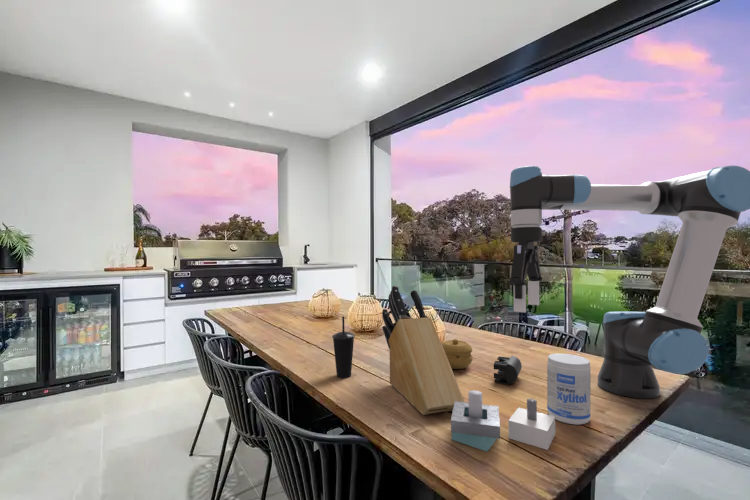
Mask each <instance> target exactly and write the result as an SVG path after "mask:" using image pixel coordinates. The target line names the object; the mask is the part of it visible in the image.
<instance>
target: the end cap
mask: <svg viewBox="0 0 750 500" xmlns="http://www.w3.org/2000/svg"><path fill="white" fill-rule="evenodd" d="M493 370H497V372H493V381H494V383H496V384H499V385H507V386H509V385H512V384H513V383H515V381H517V379H518V377H519V375H520V373H521V370H522V362H521V360H520V359H519V358H518V357H517V356H515V355H511V356H510V357H509V356H508V357H506V356H498V357H497V359H496V360H494V363H493Z"/></svg>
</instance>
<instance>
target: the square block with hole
mask: <svg viewBox="0 0 750 500" xmlns="http://www.w3.org/2000/svg"><path fill="white" fill-rule="evenodd" d="M499 409H500V408H499V405H491V404H483V403H482V414H483V419H479V418H471V417H469V403H468V402H465V401H464V402H457V401H455V403H454V407H453V411H451V412H452V413H451V416H450V417H451V419H450V432H451V433H452V432H455V433H462V434H470V435H477V436H484V437H491V438H497V440H498V439H501V421H500V410H499Z"/></svg>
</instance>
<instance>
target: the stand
mask: <svg viewBox="0 0 750 500" xmlns="http://www.w3.org/2000/svg"><path fill="white" fill-rule="evenodd" d="M537 403H538V401H537V400H536V399H534V398H527V399H526V408H522V407H518V408H517V409H516V410H515V412H514V413H512V415H511V416H510V418H509V419H508V422H507V423H508V424H507V425H508V439H511V440H514V441H516V442H520V443H523V444H527V445H530V446H533V447H536V448H540V449H543V450H546V451H548V450H549V448H550V446H551V445H552V442H553V440H554V438H555V436H556V419H555V416H551V415H549V414H547V413H542V412H538V406H537V405H538V404H537Z"/></svg>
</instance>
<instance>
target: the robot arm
mask: <svg viewBox="0 0 750 500" xmlns="http://www.w3.org/2000/svg"><path fill="white" fill-rule="evenodd" d="M509 192H510V193H509V194H510V214H509V215H508V219H509V220H510V226H511V227H512V228H511V229H510V241H511V242H512V243H518V244H517V245H516V244H515V245H513V259H512V265H511V274H510V279H509V280H510V281H509V286H513V288H512V289H513V290H512V291H513V312H516V313H524V314H526V313H527V305H532V306H540V282H542V281H543V277H542V275H541V267H540V259H539V251H538V250H539V249H538V248H539V247H538V244H537V245H535V243H537V242H539V243H541V242H542V241H543V229H542V227H541V225H543V211H546V210H551V211H554V210H559V211H560V210H562V211H563V210H565V211H567V210H570V211H572V210H573V211H577V210H579V211H619V212H621V211H624V212H625V211H629V212H630V211H633V212H638V213H640V214H642V215H653V216H657V215H658V216H667V217H668V216H669V217H678V218H679V220H681V222H682V223H681V224H682V225H681V227H680V231H679V233H678V235H677V240H676V242H675V246H674V249H673V252H672V255H671V258H670V261H669V263H668V265H667V266H668V267H667V269H666V273H665V276H664V279H663V282H662V285H661V287H660V291H659V295H658V298H657V300H656V302H655V306H653V307H652V308H649V309H646V310H645V311H621V310H620V311H607V312H606V313H604V315H603V321H602V326H603V361H602V363H601V364H602V365H601V366H600V369H599V372H598V374H597V385H598V386H599V387H600V388H601V389H602V390H604V391H606V392H609V393H612V394H615V395H619V396H623V397H629V398H632V399H633V398H634V399H645V400H646V399H655V398H658V397H660V396H661V390H660V389H661V387H660V383H659V381H658V379H657V377H656V376H657V375H656V374H655V371H654V369H653V367H654V368H656V369H658V370H660V371H664V372H668V373H671V374H676V375H687V374H690V373H691V372H694V371H696V370H698V369H700V368H701V367H702V366H703V365H704V364H705V363H706V360H707V358H708V357H709V350H710V348H709V345H708V344H707V340H706V338H705V337H704V336H703V335H702V332H703V325H702V323H701V321H700V320H699V319H698V316H699V313H700V312H701V311H700V310H701V308H702V305H703V301H704V298H705V295H706V292H707V290H708V286H709V283H710V280H711V278H712V274H713V271H714V268H715V264H716V262H717V259H718V256H719V254H720V253H719V252H720V250H721V247H722V244H723V241H724V238H725V235H726V232H727V230H728V229H729V228H731V227H734V226H735V225H737V224H738V221H739V218H740V215H741V214H742V212H745V211H748V210H750V170H749V169H747V168H745V167H742V166H739V165H725V166H716V167H712V168H711V169H708V170H704V171H699V172H695V173H691V174H688V175H682V176H677V177H674V178H671V179H666V180H661V181H646V182H643V183H642V184H591V180H590V178H589V177H588V176H586V174H585V175H584V174H574V173H573V174H551V175H550V174H549V175H547V174H543V172H542V168H541V167H540V166H535V165H525V166H519V167H517V168H514V169H512V171H511V172H510V179H509ZM527 277H528V280H527V287H526V285H525V282H526V278H527ZM527 297H528V298H527ZM527 301H528V302H527Z"/></svg>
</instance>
